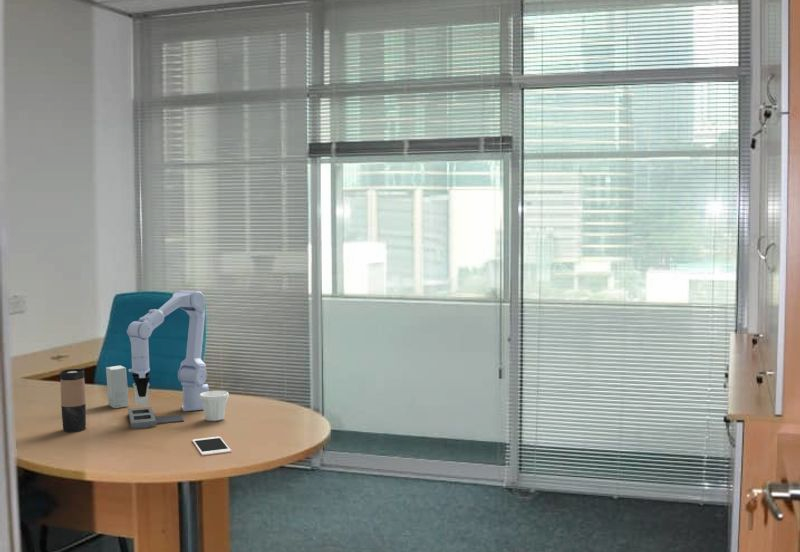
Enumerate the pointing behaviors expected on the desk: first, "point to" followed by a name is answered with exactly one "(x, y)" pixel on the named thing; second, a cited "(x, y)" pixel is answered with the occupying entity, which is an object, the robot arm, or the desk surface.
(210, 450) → the cell phone
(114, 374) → the skincare box
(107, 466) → the desk surface
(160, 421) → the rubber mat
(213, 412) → the cup
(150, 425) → the grey flat block
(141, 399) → the grey boxy piece
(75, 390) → the travel mug
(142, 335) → the robot arm
